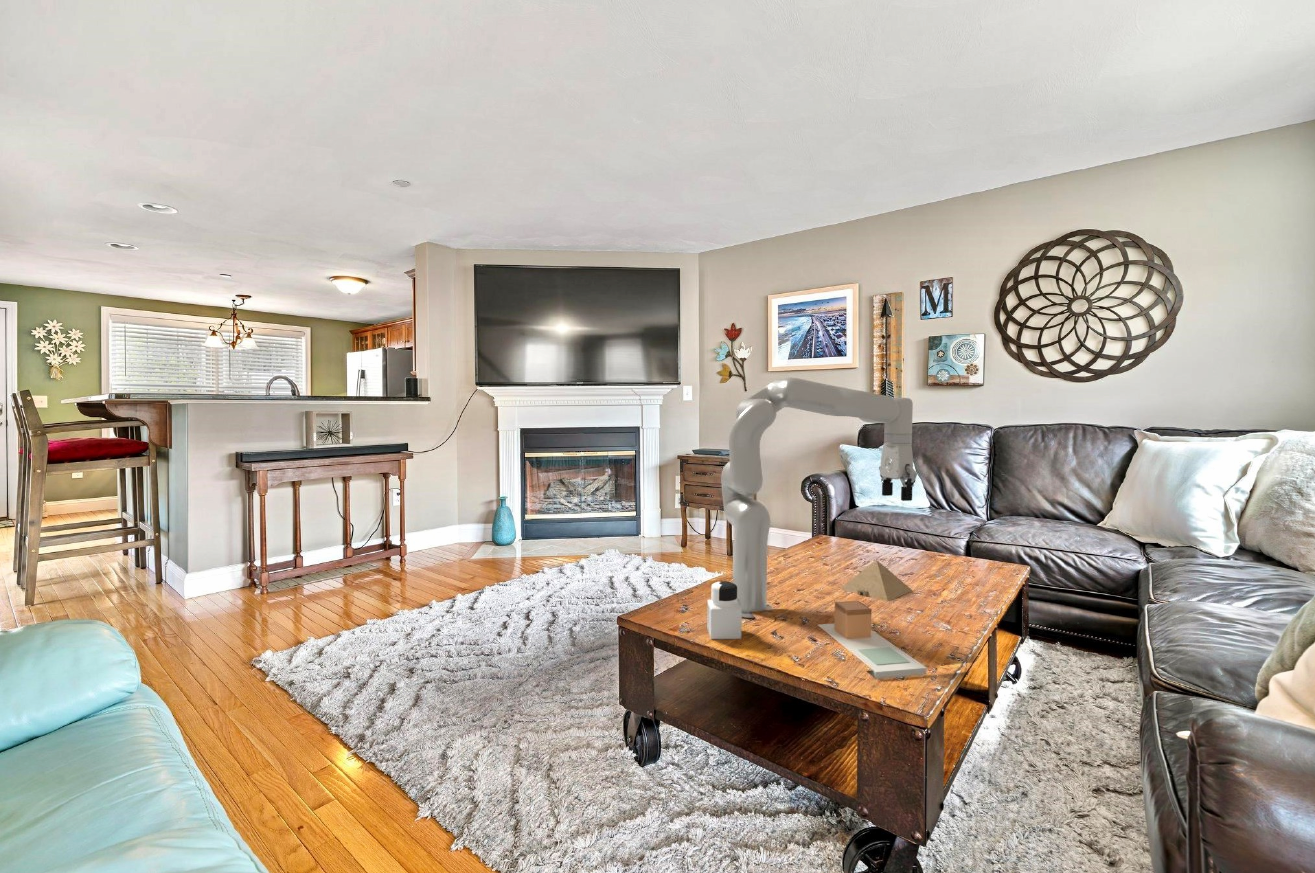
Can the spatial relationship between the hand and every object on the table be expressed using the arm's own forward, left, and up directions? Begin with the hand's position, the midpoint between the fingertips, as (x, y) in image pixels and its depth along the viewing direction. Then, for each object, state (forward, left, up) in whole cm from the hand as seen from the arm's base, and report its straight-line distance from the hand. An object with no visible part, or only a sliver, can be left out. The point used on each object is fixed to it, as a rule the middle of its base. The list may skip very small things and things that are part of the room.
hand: (896, 497), depth 175 cm
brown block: (-26, -24, -30) cm, 46 cm away
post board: (-26, -31, -31) cm, 51 cm away
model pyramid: (+1, +12, -32) cm, 34 cm away
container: (-57, -15, -31) cm, 67 cm away
